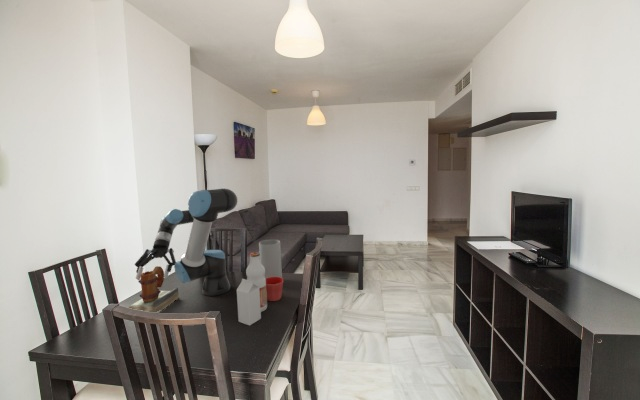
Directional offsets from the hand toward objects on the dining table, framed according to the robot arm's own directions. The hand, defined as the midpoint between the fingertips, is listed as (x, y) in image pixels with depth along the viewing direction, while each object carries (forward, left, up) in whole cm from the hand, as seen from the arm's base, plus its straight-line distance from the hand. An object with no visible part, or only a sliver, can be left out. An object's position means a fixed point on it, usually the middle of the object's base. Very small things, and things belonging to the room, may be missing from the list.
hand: (151, 278), depth 148 cm
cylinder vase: (-53, -32, -15) cm, 64 cm away
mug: (-1, 0, -10) cm, 10 cm away
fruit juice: (-55, 0, -15) cm, 57 cm away
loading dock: (-1, 0, -14) cm, 14 cm away
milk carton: (-55, +11, -15) cm, 58 cm away
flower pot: (-60, -12, -15) cm, 63 cm away
